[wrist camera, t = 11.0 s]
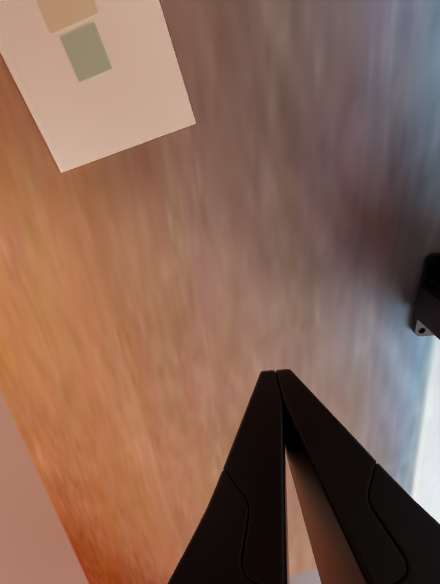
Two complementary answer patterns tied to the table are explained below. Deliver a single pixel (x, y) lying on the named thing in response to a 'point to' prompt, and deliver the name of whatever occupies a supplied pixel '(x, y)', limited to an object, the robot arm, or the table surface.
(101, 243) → the table surface
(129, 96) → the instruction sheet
